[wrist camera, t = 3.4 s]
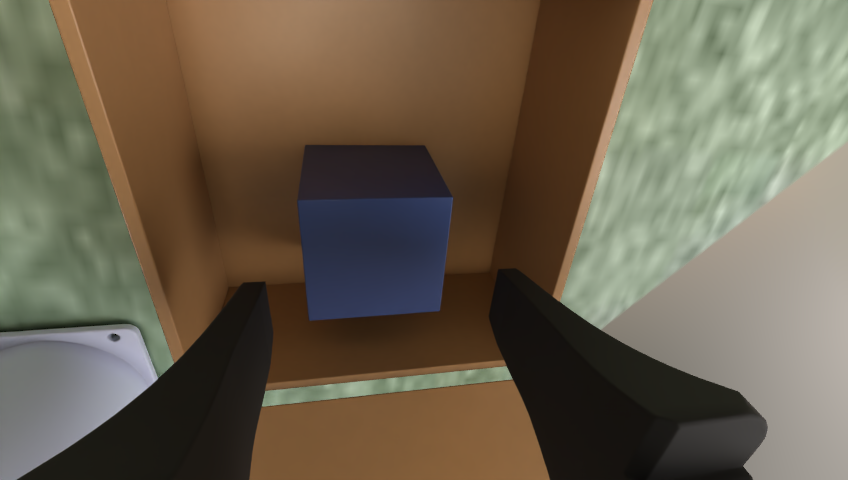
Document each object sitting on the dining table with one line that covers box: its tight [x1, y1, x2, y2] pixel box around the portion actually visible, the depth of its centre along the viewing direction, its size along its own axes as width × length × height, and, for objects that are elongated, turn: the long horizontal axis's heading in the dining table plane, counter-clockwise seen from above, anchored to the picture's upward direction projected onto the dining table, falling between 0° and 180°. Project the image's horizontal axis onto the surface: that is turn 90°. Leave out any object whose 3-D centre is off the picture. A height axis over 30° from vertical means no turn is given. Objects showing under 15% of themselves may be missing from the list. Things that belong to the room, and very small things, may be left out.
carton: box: [49, 0, 653, 391], centre depth 16 cm, size 14×14×6 cm
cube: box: [297, 145, 453, 321], centre depth 17 cm, size 5×5×5 cm
